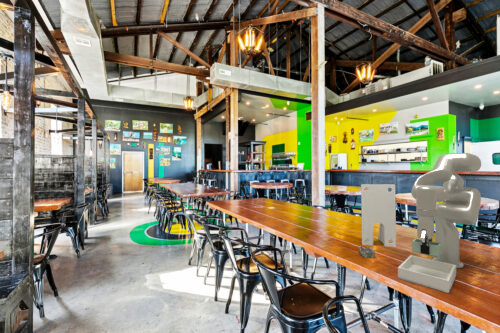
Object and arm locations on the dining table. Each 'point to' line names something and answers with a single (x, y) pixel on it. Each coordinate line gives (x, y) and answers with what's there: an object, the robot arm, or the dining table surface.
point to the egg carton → (367, 252)
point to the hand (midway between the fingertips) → (426, 251)
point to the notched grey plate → (378, 213)
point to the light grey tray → (428, 273)
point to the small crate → (434, 248)
